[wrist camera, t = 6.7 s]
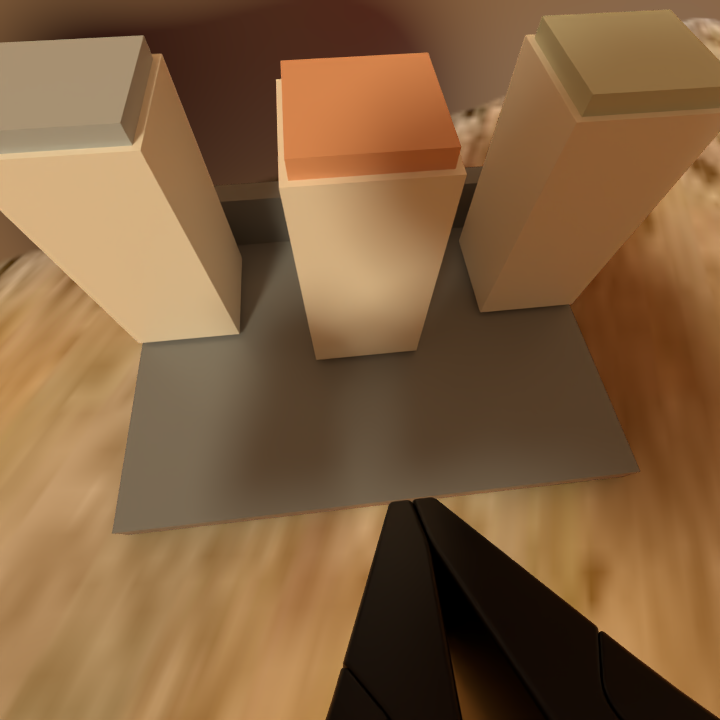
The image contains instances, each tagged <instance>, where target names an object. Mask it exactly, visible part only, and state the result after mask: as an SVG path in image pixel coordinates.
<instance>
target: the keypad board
mask: <svg viewBox="0 0 720 720" xmlns="http://www.w3.org/2000/svg"><path fill="white" fill-rule="evenodd" d="M482 168H483V166H482V167H468V168H465V170H466V173H467V176H466V179H465V183H464V186H463V190H462V193H461V197H460V200H459V204H458V207H457V211H456V214H455V218H454V221H453V225H452V228H451V232H450V235H449V239H448V242H447V246H446V249H445V252H444V256H443V259H442V263H441V266H440V270H439V273H438V277H437V280H436V284H435V287H434V291H433V294H432V298H431V301H430V305H429V308H428V312H427V315H426V319H425V322H424V326H423V329H422V332H421V336H420V339H419V343H418V346H417V350H414V351H404V352H394V353H383V354H373V355H363V356H352V357H342V358H331V359H321V360H316V357H315V352H314V348H313V343H312V338H311V334H310V329H309V325H308V320H307V315H306V311H305V306H304V302H303V297H302V292H301V288H300V283H299V279H298V274H297V269H296V265H295V260H294V256H293V251H292V246H291V242H290V237H289V233H288V228H287V223H286V219H285V214H284V209H283V205H282V200H281V196H280V191H279V181H272V182H258V183H244V184H231V185H217V186H214V188H215V190H216V193H217V196H218V198H219V201H220V203H221V206H222V208H223V211H224V213H225V216H226V218H227V221H228V224H229V226H230V229H231V231H232V234H233V236H234V239H235V241H236V244H237V246H238V249H239V251H240V254H241V257H242V277H241V307H240V334H234V335H223V336H212V337H201V338H190V339H179V340H168V341H158V342H147V343H143V345H142V351H141V357H140V364H139V370H138V376H137V382H136V388H135V395H134V401H133V407H132V413H131V419H130V426H129V432H128V438H127V444H126V451H125V457H124V463H123V469H122V475H121V482H120V488H119V494H118V500H117V506H116V513H115V519H114V525H113V531H112V533H113V534H126V535H130V534H139V533H147V532H156V531H164V530H173V529H181V528H190V527H198V526H207V525H215V524H224V523H233V522H241V521H250V520H258V519H267V518H275V517H284V516H292V515H301V514H309V513H318V512H326V511H335V510H343V509H352V508H360V507H369V506H377V505H386V504H390V503H391V502H393V501H402V500H410V501H413V500H414V499H419V498H427V497H433V498H435V499H437V498H445V497H454V496H462V495H471V494H479V493H488V492H496V491H505V490H513V489H522V488H530V487H539V486H547V485H556V484H564V483H573V482H581V481H590V480H598V479H607V478H615V477H623V476H627V475H630V474H634V473H637V472H640V469H639V467H638V465H637V462H636V460H635V458H634V455H633V453H632V451H631V448H630V446H629V444H628V441H627V439H626V437H625V434H624V432H623V430H622V427H621V425H620V422H619V420H618V418H617V415H616V413H615V411H614V408H613V406H612V404H611V401H610V399H609V397H608V394H607V392H606V390H605V387H604V385H603V383H602V380H601V378H600V375H599V373H598V371H597V368H596V366H595V364H594V361H593V359H592V357H591V354H590V352H589V350H588V347H587V345H586V343H585V340H584V338H583V336H582V333H581V331H580V329H579V326H578V324H577V321H576V319H575V317H574V314H573V312H572V310H571V307H570V305H569V304H566V305H556V306H545V307H534V308H523V309H512V310H501V311H490V312H480V310H479V307H478V304H477V300H476V297H475V293H474V290H473V287H472V283H471V280H470V277H469V273H468V270H467V267H466V263H465V260H464V257H463V253H462V250H461V246H460V243H459V239H460V236H461V233H462V230H463V227H464V223H465V220H466V217H467V214H468V211H469V208H470V205H471V202H472V199H473V196H474V192H475V189H476V186H477V183H478V180H479V177H480V174H481V171H482Z"/></svg>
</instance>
